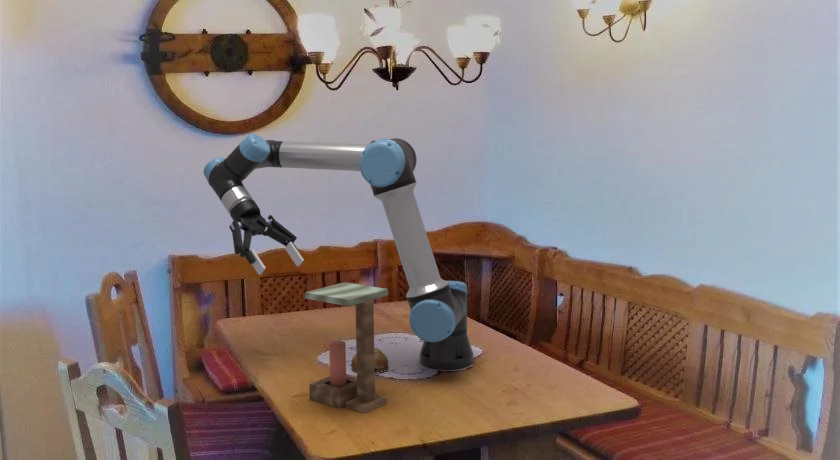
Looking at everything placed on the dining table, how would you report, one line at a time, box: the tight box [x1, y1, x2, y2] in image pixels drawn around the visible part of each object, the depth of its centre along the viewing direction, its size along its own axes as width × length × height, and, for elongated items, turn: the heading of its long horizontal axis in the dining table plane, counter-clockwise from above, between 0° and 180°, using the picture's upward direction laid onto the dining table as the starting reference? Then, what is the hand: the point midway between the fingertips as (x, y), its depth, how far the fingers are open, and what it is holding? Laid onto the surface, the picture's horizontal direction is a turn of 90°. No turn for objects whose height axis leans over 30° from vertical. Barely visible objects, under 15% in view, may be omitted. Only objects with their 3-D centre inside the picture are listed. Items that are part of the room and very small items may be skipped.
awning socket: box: [304, 281, 389, 414], centre depth 193 cm, size 17×14×28 cm
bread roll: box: [351, 347, 389, 374], centre depth 220 cm, size 10×10×8 cm
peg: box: [328, 340, 347, 387], centre depth 196 cm, size 4×4×14 cm
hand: (282, 267), depth 210 cm, fingers open, 13 cm apart
